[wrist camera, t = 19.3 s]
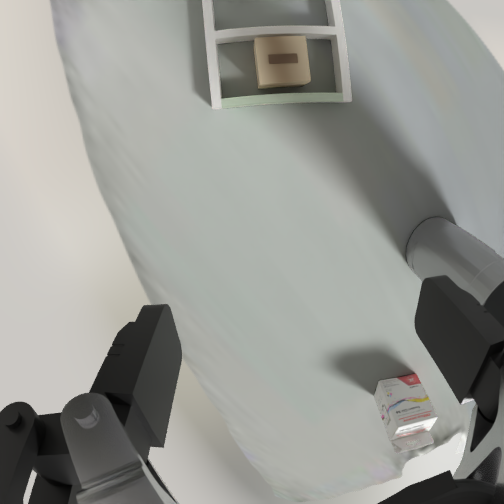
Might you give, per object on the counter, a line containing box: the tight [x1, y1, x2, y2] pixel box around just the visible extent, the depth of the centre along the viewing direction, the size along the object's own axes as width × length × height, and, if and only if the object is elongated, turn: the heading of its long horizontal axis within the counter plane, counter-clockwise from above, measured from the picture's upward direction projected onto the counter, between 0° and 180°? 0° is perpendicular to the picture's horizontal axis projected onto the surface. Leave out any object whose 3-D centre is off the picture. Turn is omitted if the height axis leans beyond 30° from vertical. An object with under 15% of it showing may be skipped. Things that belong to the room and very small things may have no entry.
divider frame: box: [202, 0, 352, 110], centre depth 25 cm, size 15×25×2 cm, turn 5°
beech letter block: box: [254, 36, 311, 89], centre depth 28 cm, size 5×5×5 cm
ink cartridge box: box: [374, 374, 438, 453], centre depth 44 cm, size 9×5×15 cm, turn 92°
